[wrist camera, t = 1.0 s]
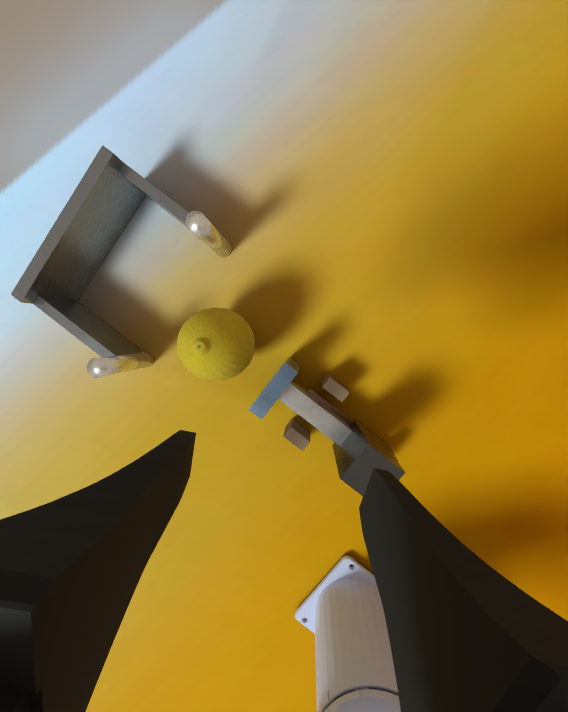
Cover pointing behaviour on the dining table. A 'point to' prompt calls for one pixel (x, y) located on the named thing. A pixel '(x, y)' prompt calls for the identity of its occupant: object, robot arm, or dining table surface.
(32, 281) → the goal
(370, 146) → the dining table surface
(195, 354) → the lemon
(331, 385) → the track
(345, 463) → the rod
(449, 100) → the dining table surface
